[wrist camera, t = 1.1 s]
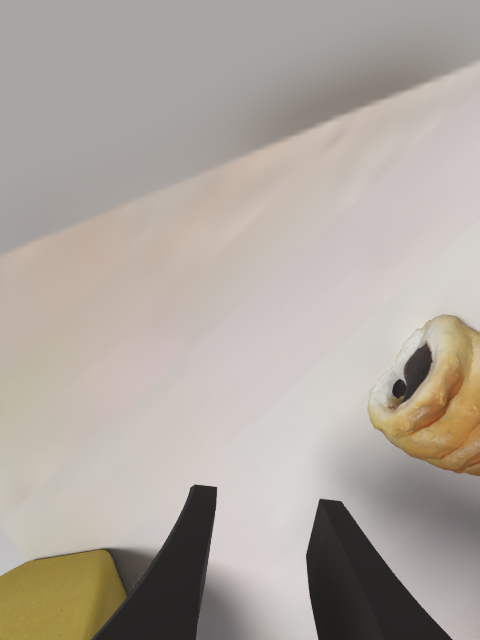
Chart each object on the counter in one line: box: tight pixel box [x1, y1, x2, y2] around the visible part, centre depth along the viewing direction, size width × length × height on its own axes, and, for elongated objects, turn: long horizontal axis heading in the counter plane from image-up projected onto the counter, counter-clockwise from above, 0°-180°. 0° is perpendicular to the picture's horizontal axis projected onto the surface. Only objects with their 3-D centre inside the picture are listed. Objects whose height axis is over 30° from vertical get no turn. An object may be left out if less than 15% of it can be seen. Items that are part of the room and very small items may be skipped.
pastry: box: [368, 315, 480, 476], centre depth 20 cm, size 9×7×4 cm
